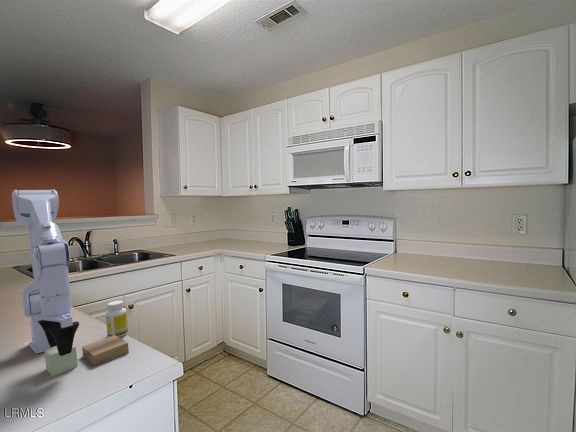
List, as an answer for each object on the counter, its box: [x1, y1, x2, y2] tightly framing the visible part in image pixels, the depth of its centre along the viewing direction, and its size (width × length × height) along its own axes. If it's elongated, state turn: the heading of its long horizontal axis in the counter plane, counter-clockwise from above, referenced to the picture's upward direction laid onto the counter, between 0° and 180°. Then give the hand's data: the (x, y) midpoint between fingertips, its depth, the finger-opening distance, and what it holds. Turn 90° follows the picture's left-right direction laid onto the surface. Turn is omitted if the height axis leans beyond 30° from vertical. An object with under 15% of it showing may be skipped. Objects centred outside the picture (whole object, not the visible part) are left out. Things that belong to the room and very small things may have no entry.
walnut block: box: [81, 335, 130, 367], centre depth 79 cm, size 8×8×3 cm
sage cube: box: [43, 344, 78, 377], centre depth 73 cm, size 5×5×5 cm
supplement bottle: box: [105, 300, 129, 338], centre depth 91 cm, size 5×5×10 cm
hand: (60, 349), depth 73 cm, fingers open, 7 cm apart
